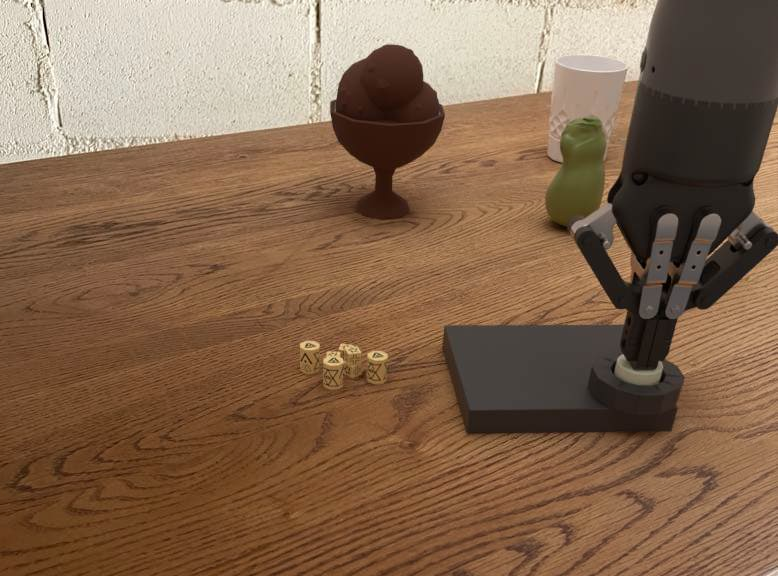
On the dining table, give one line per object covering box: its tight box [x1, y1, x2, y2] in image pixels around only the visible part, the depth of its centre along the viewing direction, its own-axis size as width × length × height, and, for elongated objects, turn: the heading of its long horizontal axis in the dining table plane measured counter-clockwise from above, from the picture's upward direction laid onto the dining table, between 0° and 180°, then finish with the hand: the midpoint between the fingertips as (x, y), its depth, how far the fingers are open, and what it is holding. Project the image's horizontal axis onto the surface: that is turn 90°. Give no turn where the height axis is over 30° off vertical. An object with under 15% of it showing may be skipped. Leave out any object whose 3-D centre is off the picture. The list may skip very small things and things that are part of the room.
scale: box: [442, 324, 686, 435], centre depth 65 cm, size 14×13×4 cm
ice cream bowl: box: [329, 43, 446, 220], centre depth 88 cm, size 11×11×15 cm
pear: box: [544, 117, 606, 228], centre depth 88 cm, size 6×5×10 cm
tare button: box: [614, 354, 663, 386], centre depth 62 cm, size 3×3×2 cm
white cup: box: [546, 53, 629, 164], centre depth 104 cm, size 8×8×10 cm
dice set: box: [299, 340, 389, 391], centre depth 66 cm, size 5×5×2 cm
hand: (640, 363), depth 61 cm, fingers closed
